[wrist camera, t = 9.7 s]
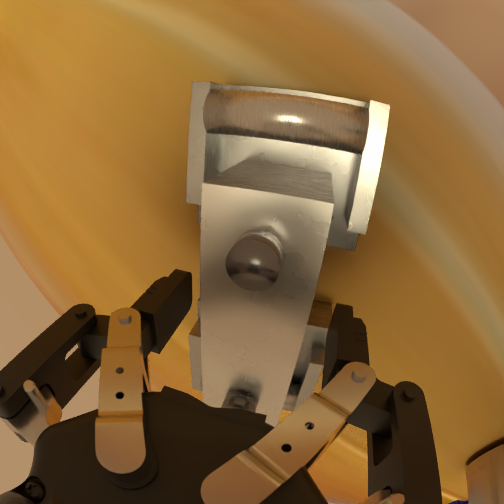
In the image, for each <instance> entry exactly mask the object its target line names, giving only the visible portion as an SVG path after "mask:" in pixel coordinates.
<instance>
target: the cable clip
mask: <svg viewBox="0 0 504 504" xmlns="http://www.w3.org/2000/svg"><path fill="white" fill-rule="evenodd" d="M449 504H469V502H468V500H467V501H459V500H456V501H454V502H452V503H449Z"/></svg>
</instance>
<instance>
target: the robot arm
mask: <svg viewBox="0 0 504 504" xmlns="http://www.w3.org/2000/svg"><path fill="white" fill-rule="evenodd" d="M191 304H192V274H191V273H190V272H187V271H182V270H178V269H175V270H174V271H173V272H172V273H171V274H170V276H169V277H162V278H160V279H158V280H156V281H155V282H154V283H153V284H152V285H151V286H150V288H148V289H147V290H146V292H145V293H144V294H143V295H142V296H141V297H140V298H139V299H138V300H137V301H136V302H135V303H134V304H133V305H132V306H131V307H130V308H120V309H118V310H116V311H114V312H113V313H112V314H111V316H106V315H96V313H95V309H94V308H93V306H91V305H89V304H78V305H75V306H73V307H72V308H70V309H69V310H68V311H67V312H66V313H64V314H63V315H62V316H61V317H60V318H59V319H57V320H56V321H55V322H54V323H53V324H52V325H50V326H49V327H48V328H47V329H46V330H45V331H44V332H42V333H41V334H40V335H39V336H38V337H37V338H36V339H35V340H33V341H32V342H31V343H30V344H29V345H28V346H27V347H26V348H24V350H22V351H21V352H20V353H19V354H18V355H17V356H16V357H15V358H14V359H13V360H12V361H10V362H9V363H8V364H7V365H6V366H5V367H4V368H3V369H2V370H1V371H0V418H1V419H2V421H3V422H4V423H5V424H6V425H7V426H8V427H9V429H10V430H12V431H13V432H14V433H15V434H16V435H17V436H18V437H19V438H20V439H21V440H22V441H24V442H29V443H30V444H31V445H32V446H33V447H34V457H33V464H32V467H31V471H30V474H29V476H28V478H27V479H26V480H25V481H24V482H23V483H22V484H21V485H19V486H18V487H16V488H14V489H12V490H10V491H8V492H5V493H3V494H1V495H0V504H328V502H327V501H326V499H325V498H324V496H323V495H322V493H321V492H320V490H319V489H318V487H317V485H316V484H315V482H314V481H313V479H312V477H311V476H310V474H309V473H308V470H309V469H310V468H311V467H312V466H313V464H314V463H315V462H316V461H317V460H318V459H319V458H320V457H321V455H322V454H323V453H324V452H325V451H326V449H327V448H328V447H329V446H330V445H331V444H332V443H333V442H334V440H335V439H336V438H337V437H338V436H339V435H340V433H341V432H342V431H343V430H344V429H345V427H346V426H347V425H348V424H352V425H354V426H357V427H359V428H361V429H364V430H366V431H367V445H368V498H366V499H365V500H363V501H362V502H360V503H359V504H442V495H441V486H440V477H439V470H438V463H437V456H436V450H435V444H434V439H433V433H432V428H431V423H430V419H429V414H428V409H427V405H426V401H425V397H424V393H423V391H422V389H421V388H420V387H419V386H418V385H416V384H415V383H412V382H409V381H403V382H400V383H398V384H397V385H396V386H395V387H394V386H391V385H389V384H386V383H384V382H381V381H380V380H378V379H377V378H376V374H375V372H374V370H373V369H372V368H371V367H370V366H369V353H368V343H367V332H366V326H365V324H364V323H363V321H362V320H361V319H360V318H354V317H353V307H352V306H349V305H344V304H338V303H337V304H336V306H335V309H334V312H333V315H332V318H331V322H330V325H329V328H328V331H327V336H326V343H325V356H324V369H323V380H322V390H321V391H320V392H319V393H318V394H317V393H313V394H312V395H311V396H309V397H308V398H307V399H306V400H305V401H304V402H303V403H302V404H301V405H300V406H299V407H298V408H297V409H295V410H294V411H293V412H292V413H291V414H290V415H289V416H288V417H287V418H285V419H284V420H283V421H282V422H281V423H280V424H279V425H277V426H276V427H273V426H272V425H270V424H268V423H266V422H265V421H266V417H267V415H264V414H260V413H256V412H251V411H247V410H243V409H233V408H217V407H211V406H208V405H207V404H205V403H203V402H201V401H200V400H198V399H196V398H195V397H193V396H191V395H189V394H188V393H185V392H182V391H179V390H176V389H173V388H170V387H167V386H164V387H163V389H162V391H161V392H151V383H150V372H149V359H148V355H149V353H150V352H151V351H152V352H155V353H158V354H160V352H161V351H162V349H163V348H164V346H165V345H166V343H167V342H168V341H169V339H170V338H171V336H172V335H173V333H174V332H175V330H176V329H177V327H178V326H179V324H180V323H181V321H182V320H183V319H184V317H185V316H186V314H187V313H188V311H189V310H190V307H191ZM76 344H77V345H78V348H77V349H76V350H75V352H73V353H72V354H71V355H70V356H69V357H68V359H66V360H65V357H66V354H67V353H68V351H70V350H71V349H72V348H73V347H74V346H75V345H76ZM100 366H101V368H100V384H99V409H96V410H93V411H91V412H88V413H85V414H82V415H80V416H77V417H74V418H71V419H68V420H65V421H62V422H60V419H61V417H62V409H63V408H64V407H65V406H66V405H67V403H68V402H69V401H70V400H71V399H72V398H73V396H74V395H75V394H76V393H77V392H78V391H79V389H80V388H81V387H82V386H83V385H84V384H85V383H86V382H87V380H88V379H89V378H90V377H91V376H92V375H93V374H94V373H95V371H96V370H97V369H98V368H99V367H100ZM465 470H466V478H467V488H468V502H469V504H504V444H503V445H500V446H498V447H496V448H494V449H492V450H490V451H488V452H486V453H485V454H483V455H481V456H480V457H478V458H477V459H475V460H474V461H472V462H471V463H470V464H469V465H468V466H467V467H466V469H465Z"/></svg>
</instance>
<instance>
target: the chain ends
mask: <svg viewBox="0 0 504 504" xmlns="http://www.w3.org/2000/svg"><path fill="white" fill-rule="evenodd" d="M389 109H390V105H388V104H384V103H380V102H376V101H372V100H370V101H367V102H361V101H357V100H352V99H347V98H341V97H336V96H330V95H324V94H318V93H311V92H304V91H297V90H288V89H279V88H269V87H256V86H239V85H221V84H217V83H214V82H193V84H192V95H191V109H190V123H189V140H188V162H187V194H186V203H191V204H197V205H199V215H198V222H200V223H201V201H202V183H203V182H205V181H207V180H208V179H210V178H212V177H214V176H216V175H217V174H219V173H221V172H223V171H225V170H226V169H228V168H230V167H232V166H234V165H236V164H238V163H239V162H241V161H243V160H249V161H257V162H264V163H272V164H279V165H285V166H292V167H298V168H304V169H310V170H316V171H321V172H327V173H331V176H332V185H333V196H334V207H333V213H332V218H331V223H330V228H329V233H328V237H327V242H326V246H331V247H336V248H341V249H346V250H351V251H355V247H356V244H357V240H358V236H359V233H360V234H366V230H367V225H368V221H369V217H370V213H371V209H372V204H373V200H374V195H375V191H376V186H377V181H378V176H379V171H380V166H381V160H382V155H383V149H384V143H385V137H386V130H387V124H388V117H389ZM331 318H332V304H327V303H322V302H317V301H313V303H312V307H311V311H310V315H309V319H308V322H307V326H306V330H305V334H304V337H303V341H302V345H301V348H300V352H299V355H298V359H297V362H296V366H295V369H294V372H293V376H292V379H291V382H290V386H289V389H288V392H287V395H286V398H285V402H284V405H283V408H282V409H283V410H288V411H292V412H293V411H294V410H295V409H297V408H298V407H299V406H300V405H301V404H302V403H303V402H304V401H305V400H306V399H307V398H308V397H309V396H311V395H312V393H313V391H314V388H315V386H316V383H317V381H318V378H319V376H320V373H321V371H322V368H323V366H324V354H325V343H326V336H327V331H328V328H329V325H330V322H331ZM189 346H190V361H191V375H192V387H193V389H196V390H200V391H203V383H202V359H201V321H200V298H199V299H198V320H197V322H196V324H195V325H194V327H193V328H192V330H191V332H190V333H189Z"/></svg>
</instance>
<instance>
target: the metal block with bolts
mask: <svg viewBox="0 0 504 504" xmlns="http://www.w3.org/2000/svg"><path fill="white" fill-rule="evenodd" d="M333 207H334V196H333V185H332V176H331V173H327V172H321V171H316V170H310V169H304V168H298V167H292V166H285V165H279V164H272V163H264V162H257V161H249V160H243V161H241V162H239V163H238V164H236V165H234V166H232V167H230V168H228V169H226V170H225V171H223V172H221V173H219V174H217V175H216V176H214V177H212V178H210V179H208V180H207V181H205V182H203V183H202V201H201V240H200V321H201V359H202V383H203V403H205V404H207V405H208V406H211V407H217V408H233V409H243V410H247V411H251V412H256V413H260V414H264V415H267V417H266V421H265V422H266V423H268V424H270V425H272V426H273V427H276V426H277V423H278V420H279V417H280V414H281V411H282V408H283V405H284V402H285V398H286V395H287V392H288V389H289V386H290V382H291V379H292V376H293V372H294V369H295V366H296V362H297V359H298V355H299V352H300V348H301V345H302V341H303V337H304V334H305V330H306V326H307V322H308V319H309V315H310V311H311V307H312V303H313V299H314V295H315V291H316V287H317V282H318V278H319V274H320V269H321V265H322V261H323V256H324V252H325V247H326V242H327V237H328V233H329V228H330V223H331V218H332V213H333Z"/></svg>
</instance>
